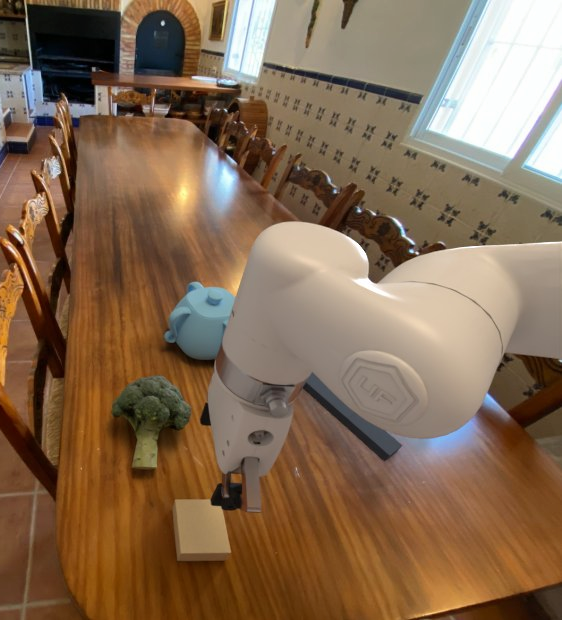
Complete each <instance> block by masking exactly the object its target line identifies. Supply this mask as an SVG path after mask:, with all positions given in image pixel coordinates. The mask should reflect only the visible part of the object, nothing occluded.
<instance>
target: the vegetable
mask: <svg viewBox="0 0 562 620" xmlns="http://www.w3.org/2000/svg"><path fill="white" fill-rule="evenodd" d="M110 413H111V415H112V417H113V418H114V419H118V418H120V417H123V418H124V419H125V420H127V421H128V422H129V424H130V425H131V426H132V428H133V429H134V435H135V437H136V439H137V440H136V445H135V449H134V454H133V458H132V464H131V468H132V469H139V470H156V469H158V450H159V449H158V439H159V434H160V431H161V430H162V429H164V428H166V427H167V428H168V429H170V430H174V431H177V432H179V431H182V430H184V427H186V426H187V425H188V423H190V420H191V416H192V407H191V405H190V404H188V402H187V401H185V400H184V397H183V396H182V393H181V390H180V388H179V387H178V386H176V385H173V384H172V383H171V381H169V380H168V379H167V378H166V377H165V376H163V375H161V374H158V375H157V374H155V375H151V376H149V375H147V376H146V377H139V378H136V379H135V381H133V382H130V383H128V384H127V385H126V386H125V388H124V389H123V390H121V393H120V395H118V396H117V397H116V398H115V400H114V401H113V402H112V405H111V411H110Z"/></svg>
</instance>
